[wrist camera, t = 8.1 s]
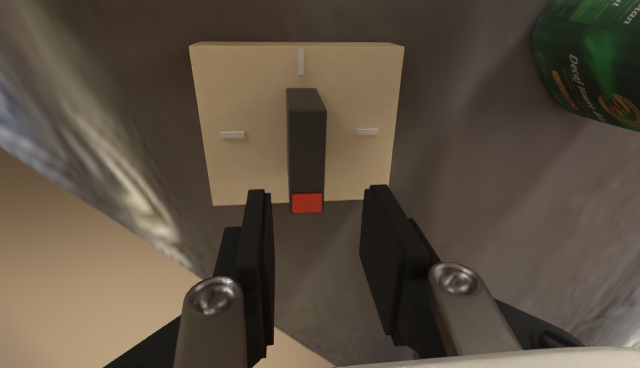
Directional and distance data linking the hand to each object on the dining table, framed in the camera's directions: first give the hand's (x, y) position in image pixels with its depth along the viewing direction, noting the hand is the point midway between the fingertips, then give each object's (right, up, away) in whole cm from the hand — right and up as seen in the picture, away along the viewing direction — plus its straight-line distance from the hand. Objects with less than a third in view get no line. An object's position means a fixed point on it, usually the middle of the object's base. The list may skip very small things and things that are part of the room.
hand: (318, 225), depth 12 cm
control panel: (-1, +6, +12) cm, 13 cm away
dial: (-1, +5, +9) cm, 10 cm away
